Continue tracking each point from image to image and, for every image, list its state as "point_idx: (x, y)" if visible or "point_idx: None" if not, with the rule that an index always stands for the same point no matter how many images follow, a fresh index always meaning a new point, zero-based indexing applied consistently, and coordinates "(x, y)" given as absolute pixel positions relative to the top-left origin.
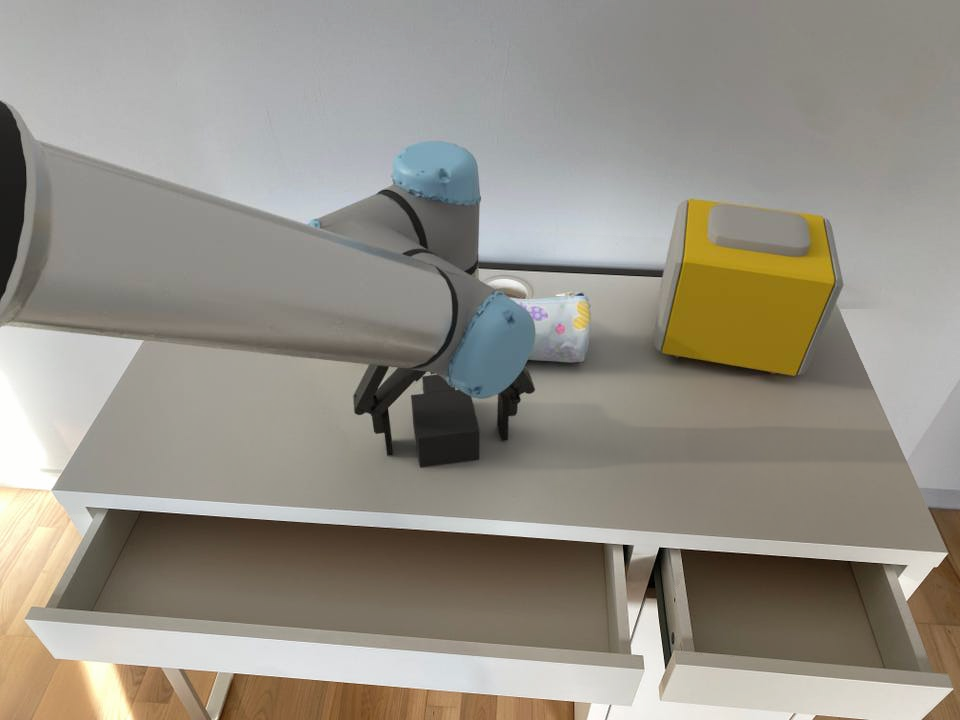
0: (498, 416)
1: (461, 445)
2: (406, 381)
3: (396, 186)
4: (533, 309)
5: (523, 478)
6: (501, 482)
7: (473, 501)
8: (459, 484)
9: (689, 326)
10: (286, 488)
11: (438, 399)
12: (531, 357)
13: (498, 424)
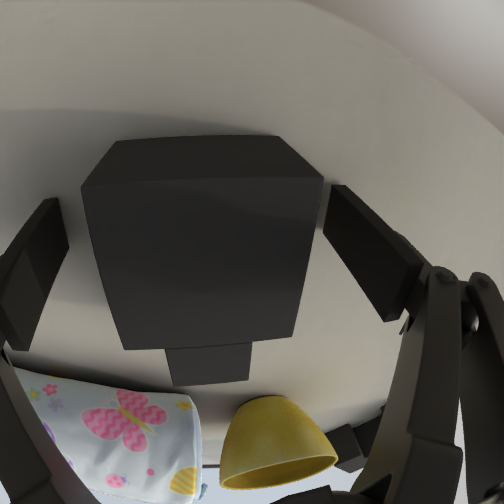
0: (53, 261)
1: (157, 157)
2: (437, 416)
3: None
4: None
5: (18, 79)
6: (69, 63)
7: (156, 4)
8: (182, 62)
9: None
10: (489, 159)
11: (218, 324)
12: (28, 380)
13: (60, 243)
